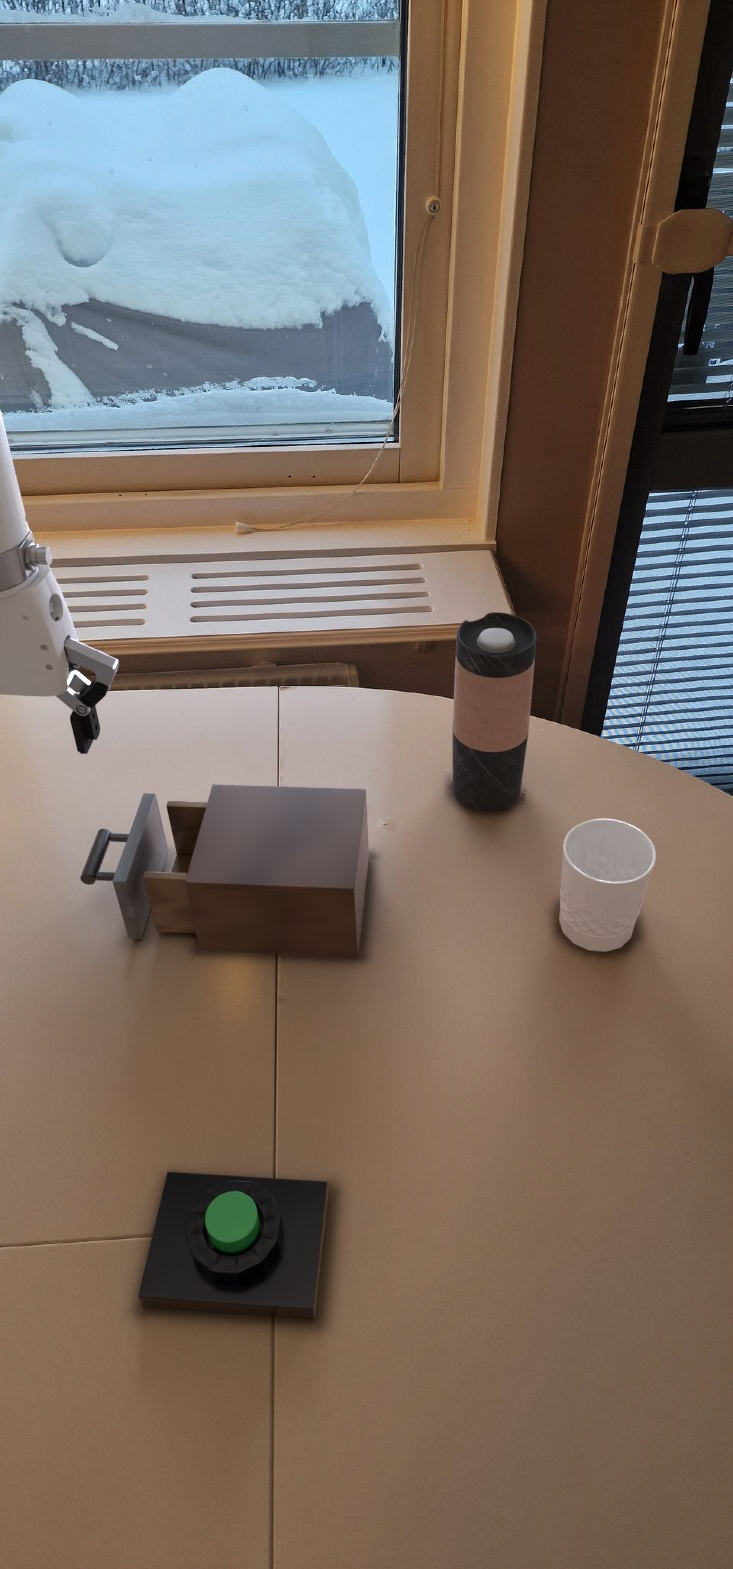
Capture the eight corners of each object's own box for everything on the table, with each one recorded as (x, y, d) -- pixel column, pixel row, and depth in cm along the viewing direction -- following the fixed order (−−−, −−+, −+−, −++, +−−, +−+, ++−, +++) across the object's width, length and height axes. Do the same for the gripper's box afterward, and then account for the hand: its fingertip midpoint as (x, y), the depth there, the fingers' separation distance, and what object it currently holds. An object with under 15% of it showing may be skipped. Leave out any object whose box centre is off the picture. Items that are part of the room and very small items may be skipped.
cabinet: (200, 953, 95) (184, 882, 89) (224, 854, 104) (212, 783, 98) (358, 960, 94) (354, 888, 87) (369, 859, 103) (366, 788, 97)
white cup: (631, 968, 92) (648, 892, 86) (544, 945, 94) (554, 870, 88) (645, 905, 98) (662, 829, 91) (562, 885, 100) (573, 810, 93)
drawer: (83, 936, 96) (64, 879, 91) (115, 848, 104) (99, 791, 99) (273, 945, 94) (265, 887, 89) (290, 855, 103) (283, 797, 98)
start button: (203, 1251, 71) (200, 1240, 70) (213, 1201, 74) (210, 1189, 73) (255, 1255, 71) (252, 1243, 70) (263, 1204, 73) (261, 1192, 72)
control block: (143, 1309, 72) (133, 1285, 69) (171, 1185, 78) (163, 1159, 76) (315, 1321, 71) (311, 1297, 68) (329, 1195, 78) (326, 1169, 75)
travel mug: (513, 822, 106) (528, 662, 93) (441, 807, 108) (446, 649, 95) (529, 775, 112) (545, 618, 98) (460, 762, 114) (467, 606, 100)
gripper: (111, 539, 78) (143, 718, 89) (-110, 529, 79) (-50, 707, 91) (81, 591, 73) (120, 775, 84) (-156, 579, 74) (-86, 762, 85)
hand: (32, 740), depth 87 cm, fingers open, 9 cm apart
